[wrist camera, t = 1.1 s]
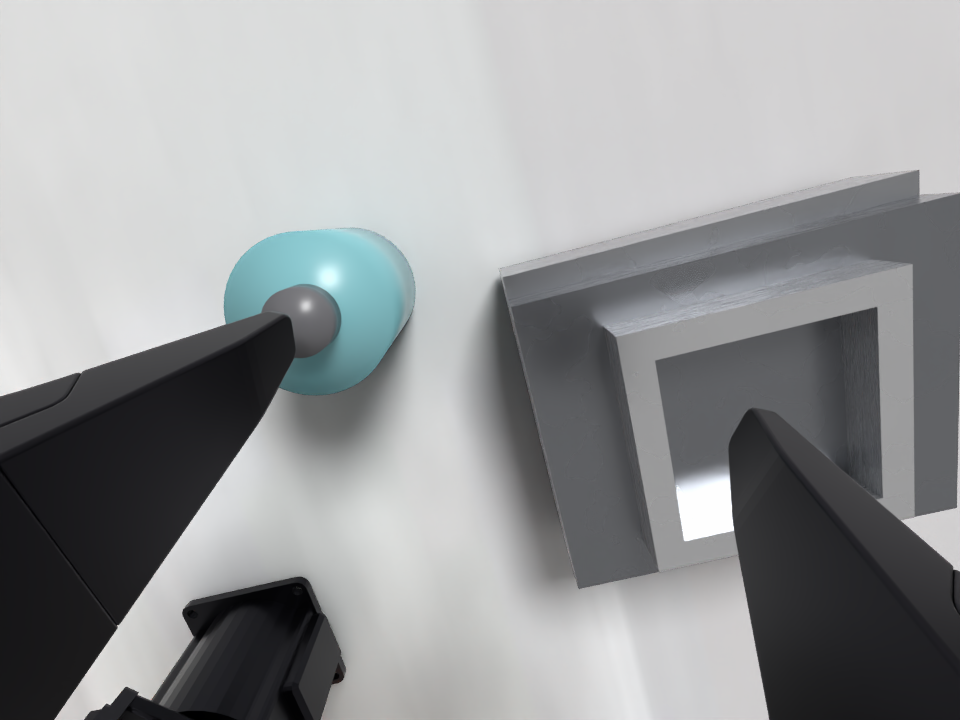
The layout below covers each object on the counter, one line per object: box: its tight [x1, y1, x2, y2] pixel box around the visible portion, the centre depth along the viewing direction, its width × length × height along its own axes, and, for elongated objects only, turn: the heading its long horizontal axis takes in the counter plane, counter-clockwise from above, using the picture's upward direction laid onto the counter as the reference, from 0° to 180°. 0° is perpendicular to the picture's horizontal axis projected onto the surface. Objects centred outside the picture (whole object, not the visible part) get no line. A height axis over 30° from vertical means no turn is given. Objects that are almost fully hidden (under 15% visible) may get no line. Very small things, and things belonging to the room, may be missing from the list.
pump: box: [224, 228, 416, 395], centre depth 17 cm, size 5×5×7 cm
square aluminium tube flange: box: [499, 170, 960, 589], centre depth 18 cm, size 14×13×6 cm
